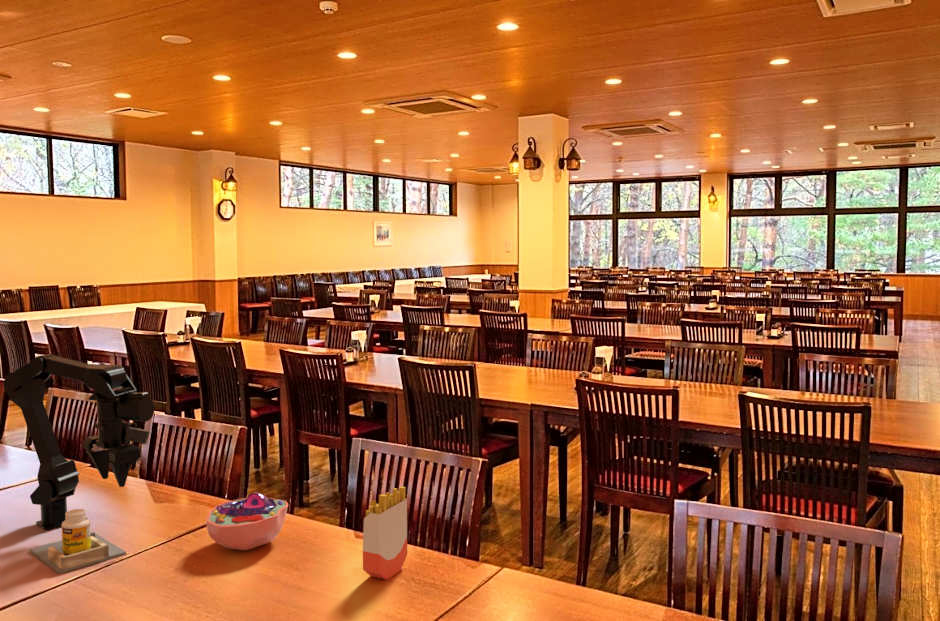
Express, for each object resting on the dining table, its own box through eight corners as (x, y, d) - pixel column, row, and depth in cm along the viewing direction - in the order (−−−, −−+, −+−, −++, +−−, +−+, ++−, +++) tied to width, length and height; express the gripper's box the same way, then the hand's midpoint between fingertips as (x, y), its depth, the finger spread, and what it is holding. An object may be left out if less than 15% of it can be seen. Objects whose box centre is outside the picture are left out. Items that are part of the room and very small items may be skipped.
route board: (29, 551, 176) (29, 544, 175) (93, 534, 186) (92, 527, 186) (59, 574, 164) (59, 566, 164) (125, 554, 174) (125, 547, 174)
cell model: (187, 553, 175) (186, 504, 174) (251, 524, 193) (250, 480, 192) (244, 567, 167) (243, 516, 166) (305, 536, 185) (304, 490, 184)
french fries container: (361, 580, 161) (360, 495, 159) (389, 561, 171) (388, 481, 169) (380, 585, 159) (379, 499, 157) (407, 565, 168) (407, 484, 167)
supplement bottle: (58, 562, 168) (56, 516, 167) (69, 552, 174) (67, 507, 173) (85, 561, 169) (83, 515, 168) (95, 551, 174) (93, 507, 173)
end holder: (48, 559, 170) (47, 548, 170) (92, 546, 177) (92, 535, 177) (63, 570, 164) (62, 558, 164) (108, 556, 171) (108, 545, 171)
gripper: (162, 419, 185) (164, 483, 187) (127, 407, 198) (129, 467, 199) (114, 427, 177) (117, 494, 178) (81, 415, 190) (84, 477, 191)
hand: (113, 482), depth 187 cm, fingers open, 9 cm apart
